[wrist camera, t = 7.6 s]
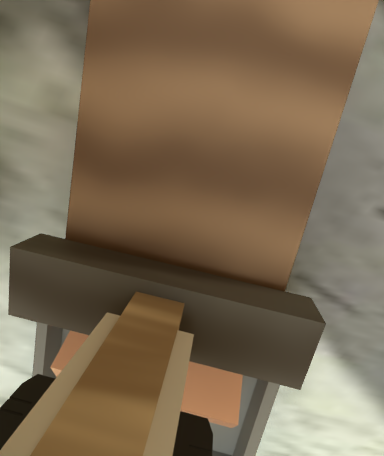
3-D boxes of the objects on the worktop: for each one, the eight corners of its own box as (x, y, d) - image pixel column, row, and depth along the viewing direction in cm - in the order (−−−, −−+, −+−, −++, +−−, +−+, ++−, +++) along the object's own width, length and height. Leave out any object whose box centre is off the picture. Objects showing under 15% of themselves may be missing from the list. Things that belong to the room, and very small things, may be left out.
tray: (63, 267, 23) (40, 283, 20) (283, 322, 22) (293, 347, 19) (48, 405, 27) (27, 435, 24) (238, 458, 26) (240, 496, 23)
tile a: (50, 367, 18) (56, 377, 20) (125, 387, 18) (127, 396, 19) (86, 299, 22) (89, 312, 23) (150, 316, 21) (149, 328, 23)
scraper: (41, 233, 17) (-813, 609, 3) (310, 297, 16) (868, 1269, 2) (37, 292, 18) (-601, 769, 4) (289, 356, 17) (563, 1246, 3)
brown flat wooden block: (124, -20, 18) (97, -69, 14) (348, 22, 17) (384, -17, 13) (87, 270, 23) (59, 292, 19) (259, 313, 22) (267, 345, 18)
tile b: (160, 404, 18) (159, 408, 20) (238, 425, 18) (231, 428, 19) (179, 327, 21) (177, 336, 23) (245, 344, 21) (239, 352, 23)
